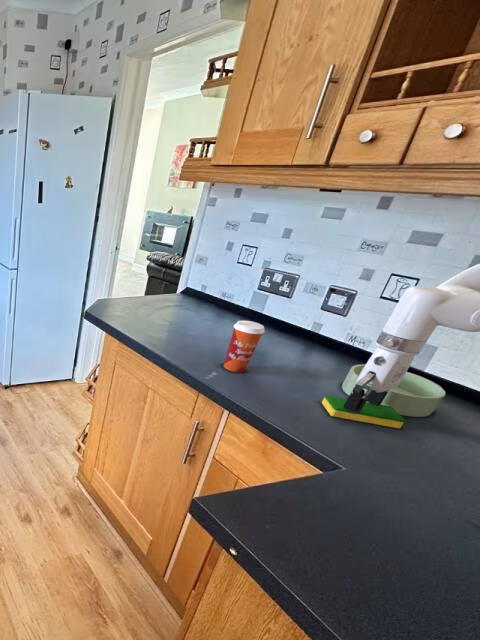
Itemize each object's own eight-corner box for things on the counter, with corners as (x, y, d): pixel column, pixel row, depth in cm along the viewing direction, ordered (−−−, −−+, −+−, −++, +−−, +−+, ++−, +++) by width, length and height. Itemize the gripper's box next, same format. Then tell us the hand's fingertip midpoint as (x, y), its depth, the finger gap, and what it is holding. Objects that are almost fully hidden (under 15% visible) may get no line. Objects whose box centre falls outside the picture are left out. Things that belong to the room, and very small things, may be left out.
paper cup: (223, 372, 122) (240, 327, 115) (216, 361, 128) (231, 318, 122) (252, 375, 120) (271, 330, 114) (244, 364, 127) (260, 321, 120)
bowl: (446, 407, 107) (459, 389, 104) (411, 423, 100) (424, 404, 97) (363, 376, 121) (372, 360, 119) (327, 388, 114) (336, 371, 112)
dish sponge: (400, 429, 98) (406, 420, 97) (330, 416, 102) (335, 408, 101) (386, 414, 104) (391, 405, 102) (320, 402, 108) (325, 394, 107)
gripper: (401, 354, 87) (360, 422, 95) (439, 343, 94) (397, 407, 102) (360, 341, 93) (324, 405, 101) (398, 331, 99) (362, 392, 108)
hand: (361, 406), depth 102 cm, fingers open, 9 cm apart
